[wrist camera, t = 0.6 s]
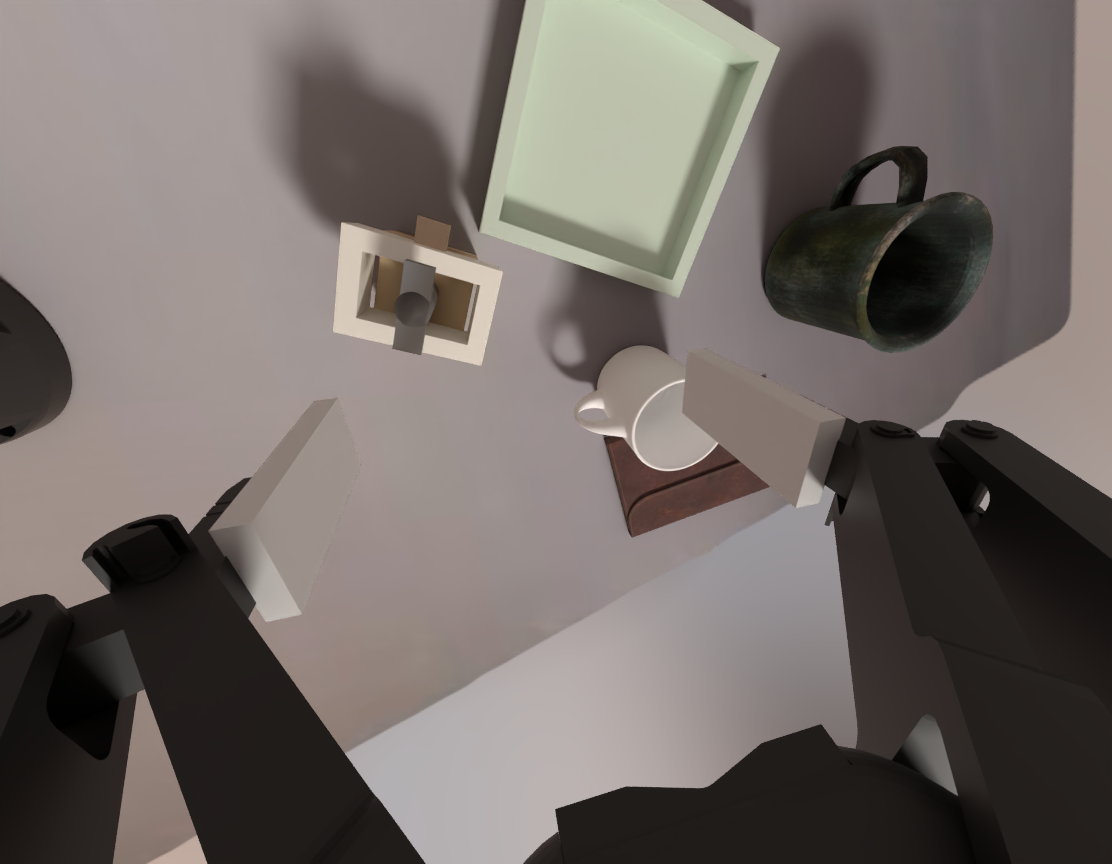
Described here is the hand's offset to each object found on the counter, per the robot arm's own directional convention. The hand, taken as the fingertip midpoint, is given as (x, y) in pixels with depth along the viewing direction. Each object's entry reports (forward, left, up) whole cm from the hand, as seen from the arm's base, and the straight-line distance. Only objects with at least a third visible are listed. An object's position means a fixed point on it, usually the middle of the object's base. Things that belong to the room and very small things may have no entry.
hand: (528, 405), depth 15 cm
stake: (-5, 0, -24) cm, 24 cm away
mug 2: (+29, +13, -24) cm, 39 cm away
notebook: (+28, -12, -24) cm, 38 cm away
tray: (+7, +14, -24) cm, 28 cm away
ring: (-5, 0, -18) cm, 18 cm away
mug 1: (+15, -5, -24) cm, 28 cm away
